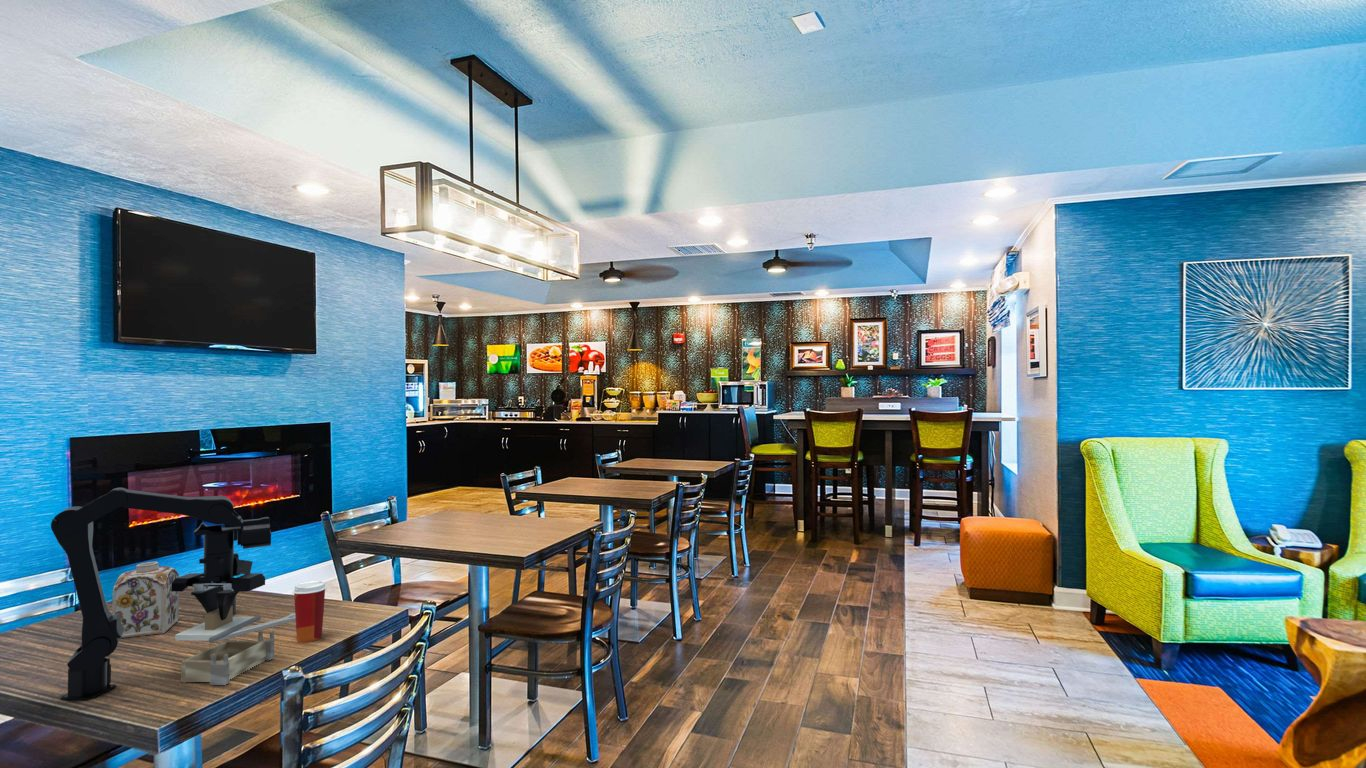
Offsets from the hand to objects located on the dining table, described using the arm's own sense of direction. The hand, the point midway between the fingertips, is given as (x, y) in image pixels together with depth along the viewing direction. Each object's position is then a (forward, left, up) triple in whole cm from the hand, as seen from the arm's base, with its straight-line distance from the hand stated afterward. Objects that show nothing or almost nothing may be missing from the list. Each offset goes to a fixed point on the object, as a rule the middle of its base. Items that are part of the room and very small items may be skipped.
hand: (218, 619), depth 153 cm
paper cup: (+20, -9, -11) cm, 24 cm away
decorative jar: (+24, +40, -12) cm, 48 cm away
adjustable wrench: (+28, +9, -12) cm, 32 cm away
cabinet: (-1, -3, -11) cm, 12 cm away
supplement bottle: (+37, +29, -11) cm, 49 cm away
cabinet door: (0, 0, -3) cm, 3 cm away
